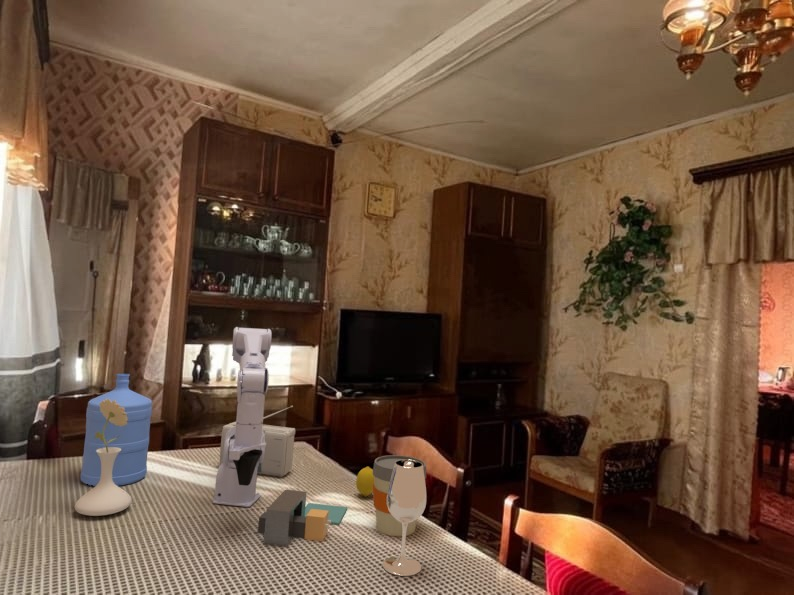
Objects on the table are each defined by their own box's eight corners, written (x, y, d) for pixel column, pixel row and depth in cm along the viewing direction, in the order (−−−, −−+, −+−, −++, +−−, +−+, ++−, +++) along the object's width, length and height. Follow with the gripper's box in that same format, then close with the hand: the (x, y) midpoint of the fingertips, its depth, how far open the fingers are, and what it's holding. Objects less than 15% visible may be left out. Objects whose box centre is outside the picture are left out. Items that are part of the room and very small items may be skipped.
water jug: (158, 478, 139) (166, 376, 140) (99, 492, 126) (109, 379, 127) (126, 465, 148) (134, 369, 149) (68, 478, 134) (78, 372, 136)
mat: (296, 520, 117) (296, 518, 118) (308, 504, 127) (308, 502, 127) (338, 525, 116) (339, 522, 117) (347, 509, 126) (347, 507, 126)
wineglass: (381, 556, 103) (387, 457, 103) (419, 557, 103) (425, 458, 104) (383, 576, 95) (390, 468, 96) (424, 577, 95) (431, 470, 96)
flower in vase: (139, 512, 116) (148, 402, 117) (82, 525, 107) (93, 406, 108) (118, 496, 125) (128, 394, 126) (65, 506, 116) (75, 397, 117)
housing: (263, 543, 105) (266, 509, 105) (283, 520, 117) (285, 489, 117) (287, 546, 104) (289, 512, 104) (304, 522, 117) (306, 491, 117)
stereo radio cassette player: (217, 470, 150) (223, 402, 151) (232, 462, 158) (237, 398, 159) (282, 479, 145) (288, 409, 146) (294, 471, 153) (299, 405, 154)
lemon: (373, 501, 133) (375, 470, 133) (352, 498, 134) (354, 468, 134) (377, 494, 138) (380, 465, 139) (358, 491, 139) (360, 462, 140)
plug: (304, 539, 108) (306, 515, 108) (309, 531, 112) (311, 508, 112) (326, 541, 108) (328, 518, 108) (330, 534, 112) (332, 511, 112)
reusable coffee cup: (386, 512, 126) (391, 452, 126) (432, 526, 119) (436, 462, 120) (358, 529, 115) (362, 462, 116) (406, 545, 109) (410, 474, 109)
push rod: (257, 533, 110) (259, 517, 110) (263, 527, 113) (264, 512, 113) (304, 539, 109) (306, 522, 109) (308, 533, 112) (310, 517, 112)
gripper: (254, 430, 105) (248, 497, 104) (278, 417, 119) (273, 476, 119) (221, 427, 106) (216, 493, 105) (249, 415, 120) (244, 473, 119)
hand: (244, 484), depth 112 cm, fingers closed
